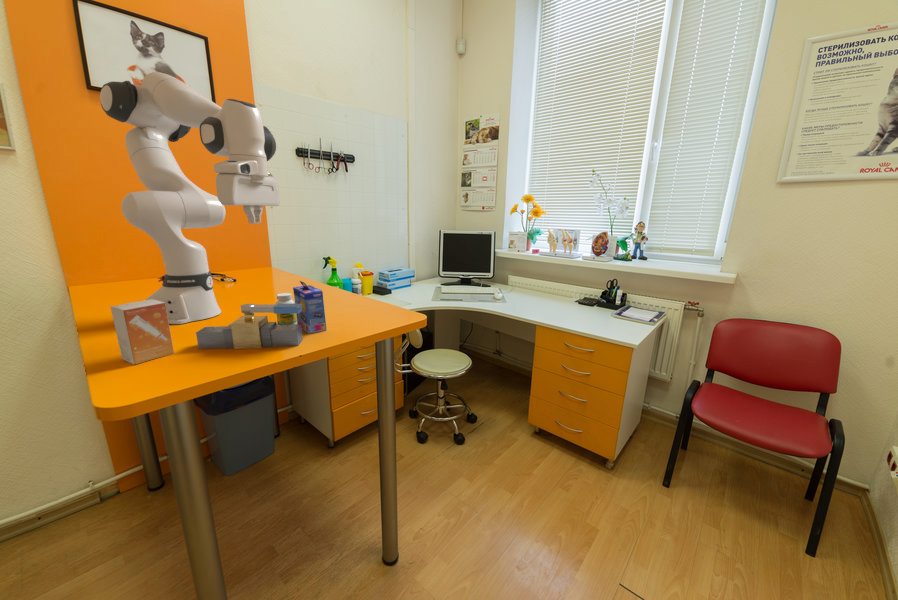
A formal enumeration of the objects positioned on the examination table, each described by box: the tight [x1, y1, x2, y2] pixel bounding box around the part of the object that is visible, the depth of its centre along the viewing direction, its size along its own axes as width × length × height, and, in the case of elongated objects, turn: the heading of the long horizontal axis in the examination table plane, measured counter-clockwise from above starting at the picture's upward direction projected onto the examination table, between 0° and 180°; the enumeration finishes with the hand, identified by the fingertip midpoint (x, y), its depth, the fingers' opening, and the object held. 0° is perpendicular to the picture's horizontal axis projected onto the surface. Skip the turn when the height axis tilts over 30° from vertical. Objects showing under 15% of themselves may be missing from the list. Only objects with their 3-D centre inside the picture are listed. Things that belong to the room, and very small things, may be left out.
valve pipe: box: [195, 313, 304, 350], centre depth 92 cm, size 24×6×9 cm, turn 98°
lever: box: [240, 303, 302, 315], centre depth 91 cm, size 15×3×2 cm, turn 93°
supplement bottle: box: [275, 292, 297, 325], centre depth 107 cm, size 5×5×10 cm
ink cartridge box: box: [292, 280, 328, 334], centre depth 104 cm, size 10×6×14 cm, turn 43°
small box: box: [110, 299, 175, 366], centre depth 83 cm, size 8×6×13 cm
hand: (254, 223), depth 96 cm, fingers closed
